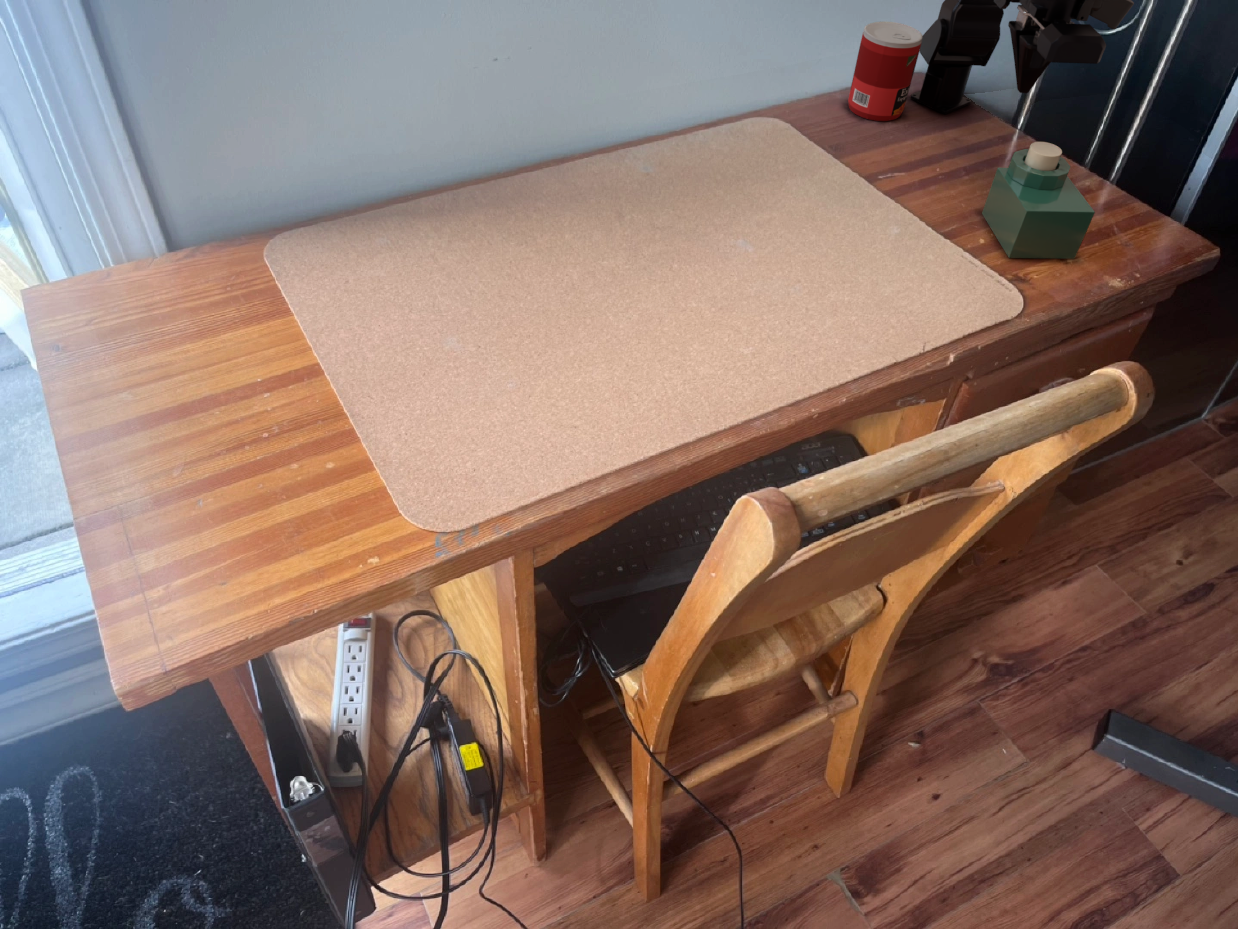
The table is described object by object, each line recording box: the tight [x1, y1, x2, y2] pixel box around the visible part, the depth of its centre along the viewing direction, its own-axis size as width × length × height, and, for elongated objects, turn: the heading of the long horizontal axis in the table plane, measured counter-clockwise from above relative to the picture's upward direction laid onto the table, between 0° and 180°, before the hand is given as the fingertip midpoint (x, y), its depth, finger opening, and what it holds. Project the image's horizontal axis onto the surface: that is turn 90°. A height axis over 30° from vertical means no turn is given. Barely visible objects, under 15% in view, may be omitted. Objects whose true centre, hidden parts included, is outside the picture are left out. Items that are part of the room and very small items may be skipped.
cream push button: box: [1024, 141, 1063, 171], centre depth 114 cm, size 4×4×2 cm
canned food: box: [847, 21, 923, 122], centre depth 137 cm, size 8×8×11 cm
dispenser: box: [981, 148, 1096, 260], centre depth 116 cm, size 11×8×8 cm
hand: (1022, 91), depth 119 cm, fingers closed
